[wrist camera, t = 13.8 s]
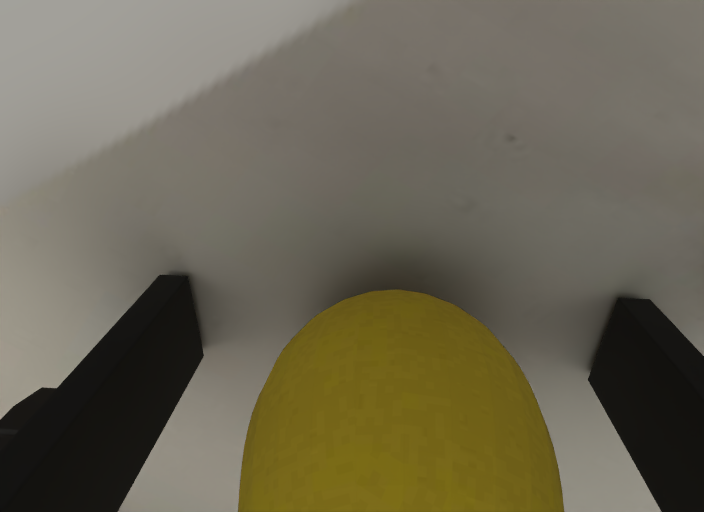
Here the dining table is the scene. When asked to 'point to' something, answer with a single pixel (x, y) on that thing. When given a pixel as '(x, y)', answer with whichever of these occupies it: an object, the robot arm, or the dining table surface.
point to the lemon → (397, 417)
